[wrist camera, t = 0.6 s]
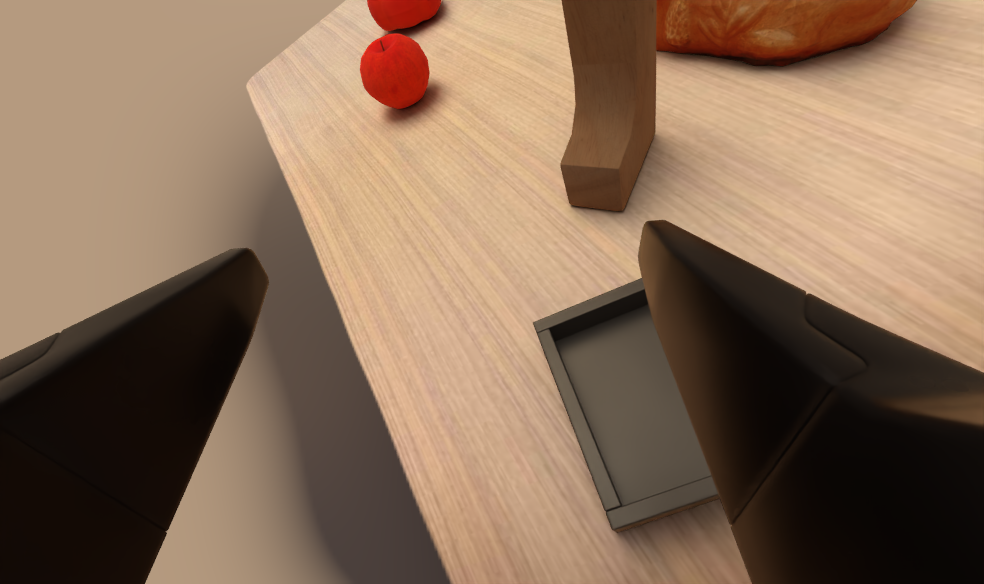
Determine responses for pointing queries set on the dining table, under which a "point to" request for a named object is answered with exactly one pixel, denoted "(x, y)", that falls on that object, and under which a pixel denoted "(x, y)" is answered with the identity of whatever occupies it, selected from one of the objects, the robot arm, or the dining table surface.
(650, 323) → the mount
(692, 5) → the ceramic vessel
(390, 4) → the tomato
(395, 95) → the apple
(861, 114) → the dining table surface
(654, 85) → the wooden block
